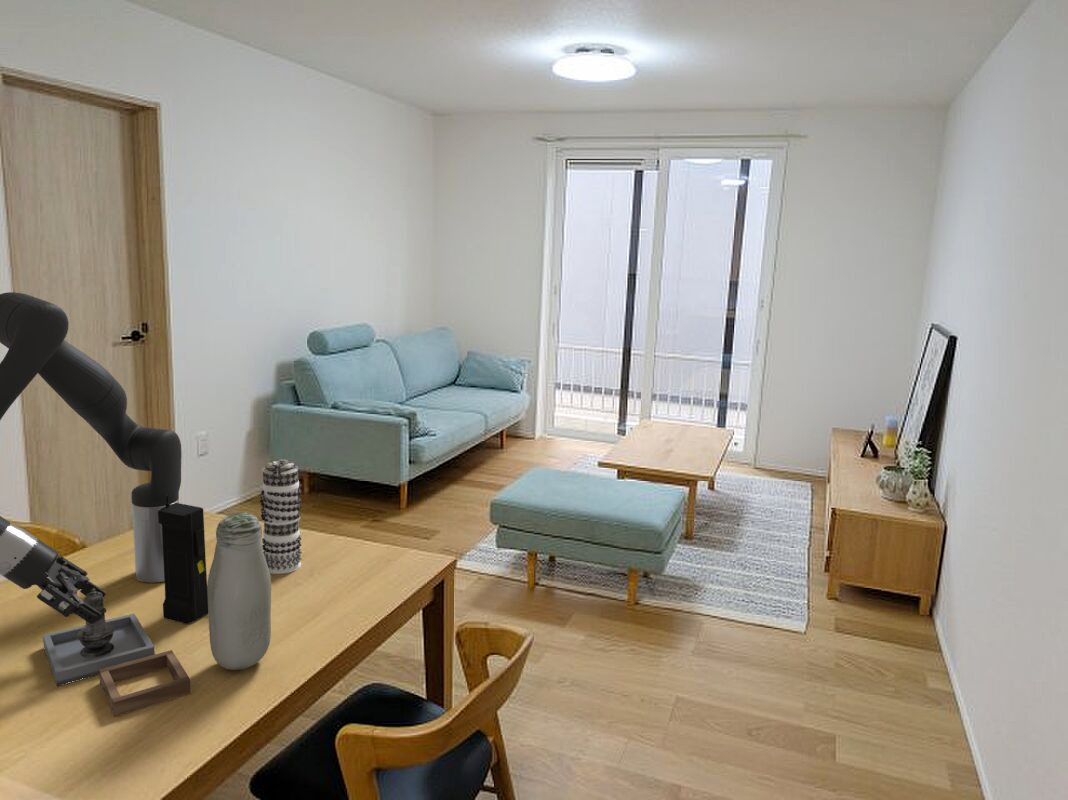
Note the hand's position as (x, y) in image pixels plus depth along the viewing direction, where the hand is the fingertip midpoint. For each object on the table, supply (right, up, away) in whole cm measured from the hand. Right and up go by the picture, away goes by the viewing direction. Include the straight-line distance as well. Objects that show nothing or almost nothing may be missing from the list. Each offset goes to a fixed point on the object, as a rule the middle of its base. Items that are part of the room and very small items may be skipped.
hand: (99, 608), depth 137 cm
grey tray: (-1, -9, +1) cm, 9 cm away
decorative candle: (+19, -2, +41) cm, 46 cm away
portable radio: (+8, -6, +17) cm, 20 cm away
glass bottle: (+25, -10, +1) cm, 27 cm away
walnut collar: (+12, -11, -8) cm, 18 cm away
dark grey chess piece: (-1, -8, +1) cm, 8 cm away
